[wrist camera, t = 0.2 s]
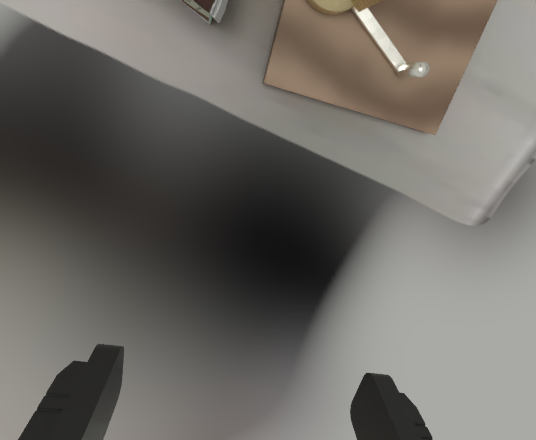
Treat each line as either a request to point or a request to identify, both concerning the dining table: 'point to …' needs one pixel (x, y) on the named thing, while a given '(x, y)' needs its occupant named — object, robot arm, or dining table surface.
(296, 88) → the dial board
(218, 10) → the food container
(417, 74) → the tan bar with dome
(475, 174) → the dining table surface
